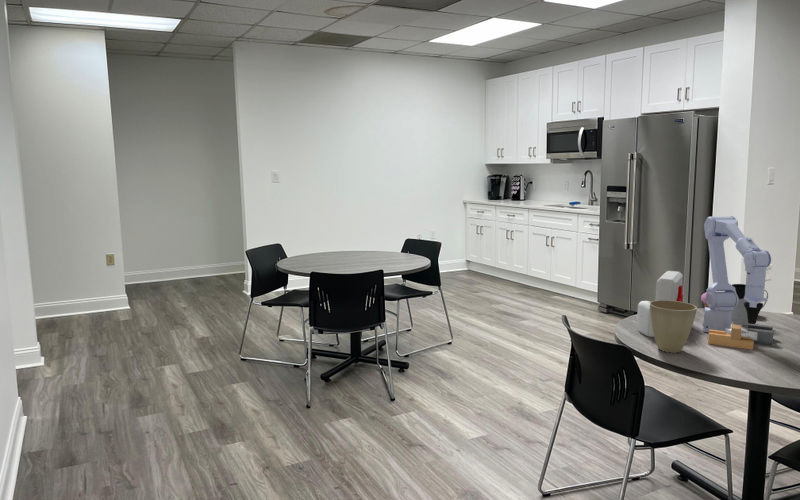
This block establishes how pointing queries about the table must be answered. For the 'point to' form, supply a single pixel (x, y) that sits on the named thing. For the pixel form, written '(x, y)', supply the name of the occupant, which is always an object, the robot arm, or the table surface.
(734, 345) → the bearing beam
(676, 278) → the bevelled white case
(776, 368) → the table surface
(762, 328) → the v-block
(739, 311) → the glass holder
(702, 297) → the cupcake
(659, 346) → the plant pot
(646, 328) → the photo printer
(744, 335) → the axle
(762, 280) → the robot arm
